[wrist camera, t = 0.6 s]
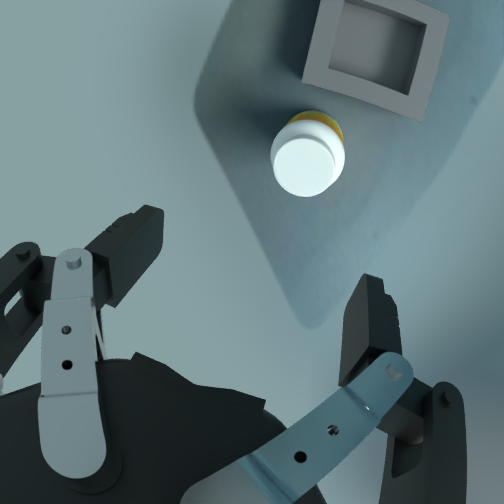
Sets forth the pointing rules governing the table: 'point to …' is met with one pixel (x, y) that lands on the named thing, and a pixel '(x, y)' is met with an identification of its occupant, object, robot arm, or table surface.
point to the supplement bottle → (308, 153)
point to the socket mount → (378, 52)
